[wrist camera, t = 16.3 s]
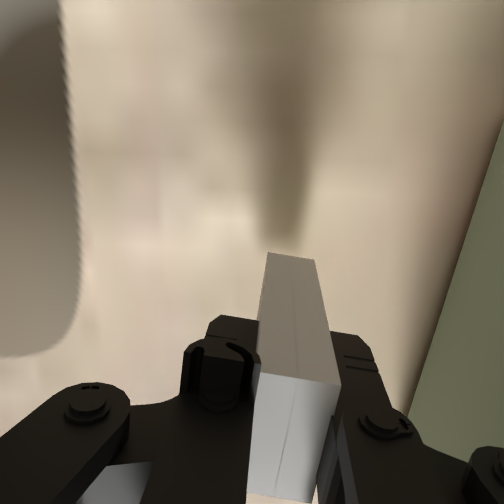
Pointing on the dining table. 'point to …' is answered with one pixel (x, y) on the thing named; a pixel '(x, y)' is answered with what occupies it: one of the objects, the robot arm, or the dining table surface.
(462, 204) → the dining table surface
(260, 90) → the dining table surface
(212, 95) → the dining table surface
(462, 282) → the tray
